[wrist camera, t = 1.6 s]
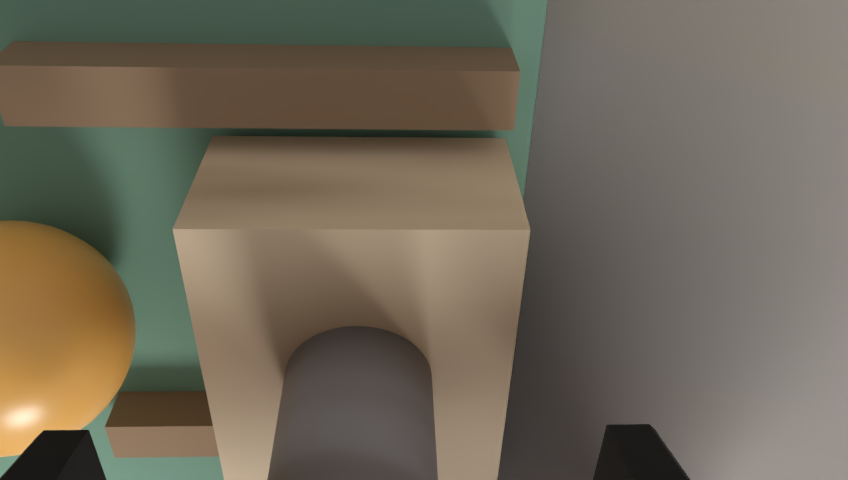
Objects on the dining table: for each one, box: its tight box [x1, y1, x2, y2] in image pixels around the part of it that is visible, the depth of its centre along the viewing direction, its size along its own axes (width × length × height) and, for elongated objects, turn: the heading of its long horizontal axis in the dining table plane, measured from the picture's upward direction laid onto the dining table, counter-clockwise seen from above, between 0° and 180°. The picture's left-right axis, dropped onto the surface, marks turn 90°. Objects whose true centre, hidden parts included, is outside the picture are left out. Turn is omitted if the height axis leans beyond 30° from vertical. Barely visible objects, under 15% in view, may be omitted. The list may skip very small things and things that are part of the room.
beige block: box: [173, 136, 530, 480], centre depth 11 cm, size 6×5×8 cm
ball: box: [0, 220, 136, 457], centre depth 13 cm, size 4×4×4 cm
